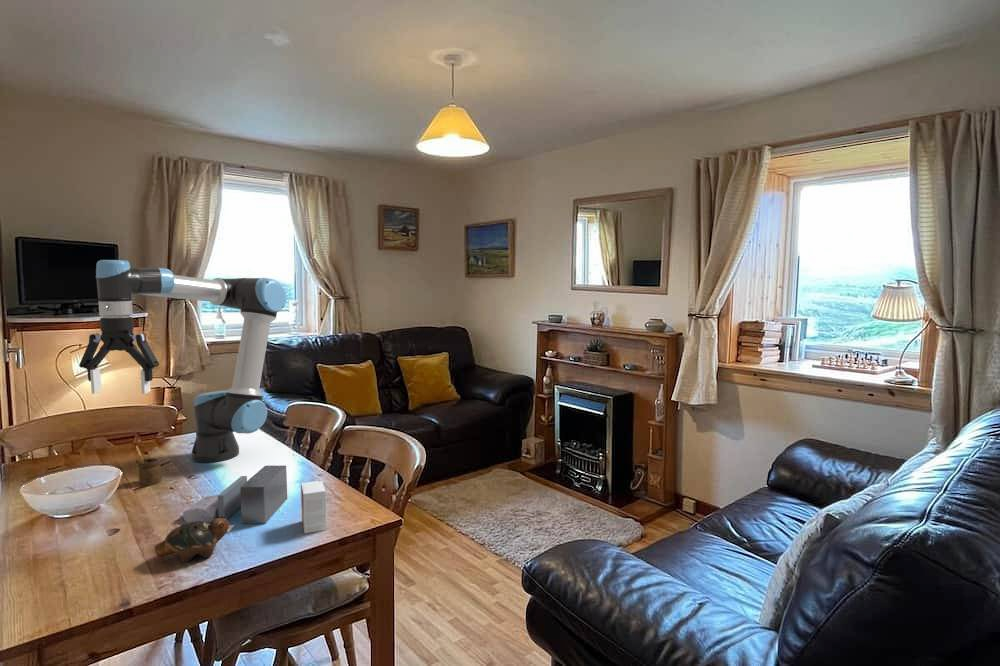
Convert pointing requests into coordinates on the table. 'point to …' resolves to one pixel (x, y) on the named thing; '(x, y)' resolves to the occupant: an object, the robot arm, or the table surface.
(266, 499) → the dark gray block
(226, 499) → the gauge plate
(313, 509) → the small box
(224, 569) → the table surface
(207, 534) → the decorative turtle
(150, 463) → the utensil holder
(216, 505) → the stone block
